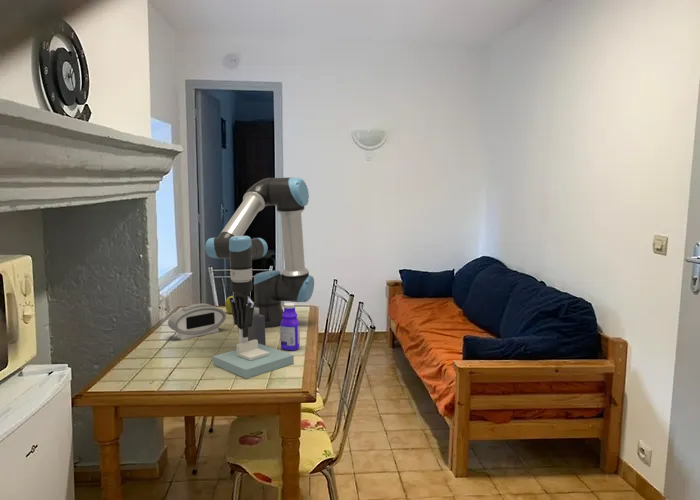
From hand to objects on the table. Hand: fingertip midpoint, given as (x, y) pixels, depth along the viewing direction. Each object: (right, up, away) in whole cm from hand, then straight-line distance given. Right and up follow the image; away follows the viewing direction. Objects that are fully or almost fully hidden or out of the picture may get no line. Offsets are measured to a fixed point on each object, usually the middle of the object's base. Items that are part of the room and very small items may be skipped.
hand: (243, 345), depth 197 cm
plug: (+2, -3, +18) cm, 18 cm away
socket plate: (+4, -6, -3) cm, 8 cm away
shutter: (+4, -3, -3) cm, 6 cm away
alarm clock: (-25, -1, +34) cm, 43 cm away
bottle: (+15, -4, +14) cm, 21 cm away
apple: (-18, +3, +70) cm, 72 cm away
